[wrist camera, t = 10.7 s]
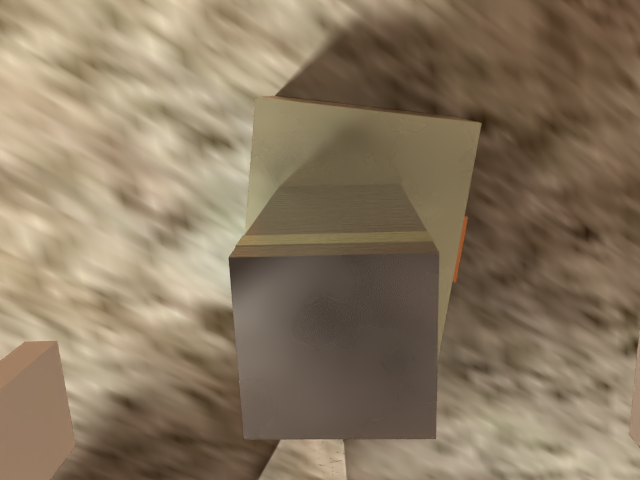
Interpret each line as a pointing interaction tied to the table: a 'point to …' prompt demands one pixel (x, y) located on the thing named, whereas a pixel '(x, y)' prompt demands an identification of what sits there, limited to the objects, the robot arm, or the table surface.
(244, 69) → the table surface
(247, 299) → the column
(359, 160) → the grey-green storage box
